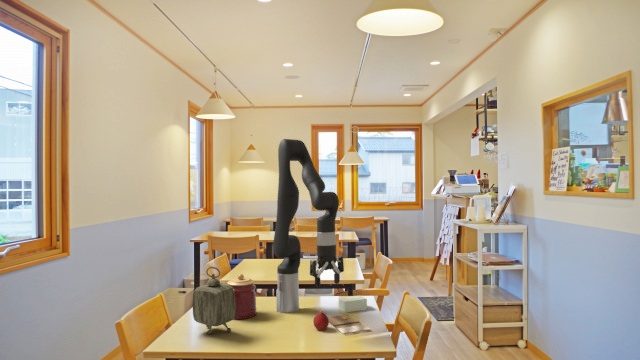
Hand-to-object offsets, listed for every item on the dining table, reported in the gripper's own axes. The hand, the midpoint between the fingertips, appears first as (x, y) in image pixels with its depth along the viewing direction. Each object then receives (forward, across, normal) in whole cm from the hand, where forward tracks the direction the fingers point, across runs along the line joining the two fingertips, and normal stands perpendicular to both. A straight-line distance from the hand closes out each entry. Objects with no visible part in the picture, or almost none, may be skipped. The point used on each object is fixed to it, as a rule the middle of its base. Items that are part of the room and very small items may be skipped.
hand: (327, 285), depth 169 cm
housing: (+17, -21, -12) cm, 29 cm away
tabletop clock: (+17, +39, -21) cm, 47 cm away
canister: (+16, +22, -35) cm, 45 cm away
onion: (+17, +4, +2) cm, 18 cm away
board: (+17, -7, +3) cm, 18 cm away
